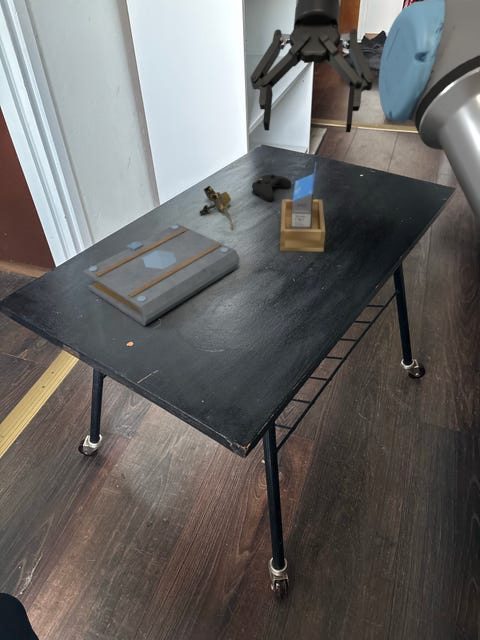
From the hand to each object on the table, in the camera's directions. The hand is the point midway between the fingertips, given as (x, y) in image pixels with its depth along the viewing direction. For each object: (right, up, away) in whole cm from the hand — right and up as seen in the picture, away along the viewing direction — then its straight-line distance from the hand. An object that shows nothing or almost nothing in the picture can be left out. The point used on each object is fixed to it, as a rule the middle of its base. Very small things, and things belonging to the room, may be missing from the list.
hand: (306, 127), depth 79 cm
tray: (+1, -15, +16) cm, 22 cm away
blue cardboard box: (+1, -14, +15) cm, 21 cm away
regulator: (-15, -9, +23) cm, 29 cm away
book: (-24, -25, +5) cm, 35 cm away
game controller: (-4, -3, +31) cm, 31 cm away
